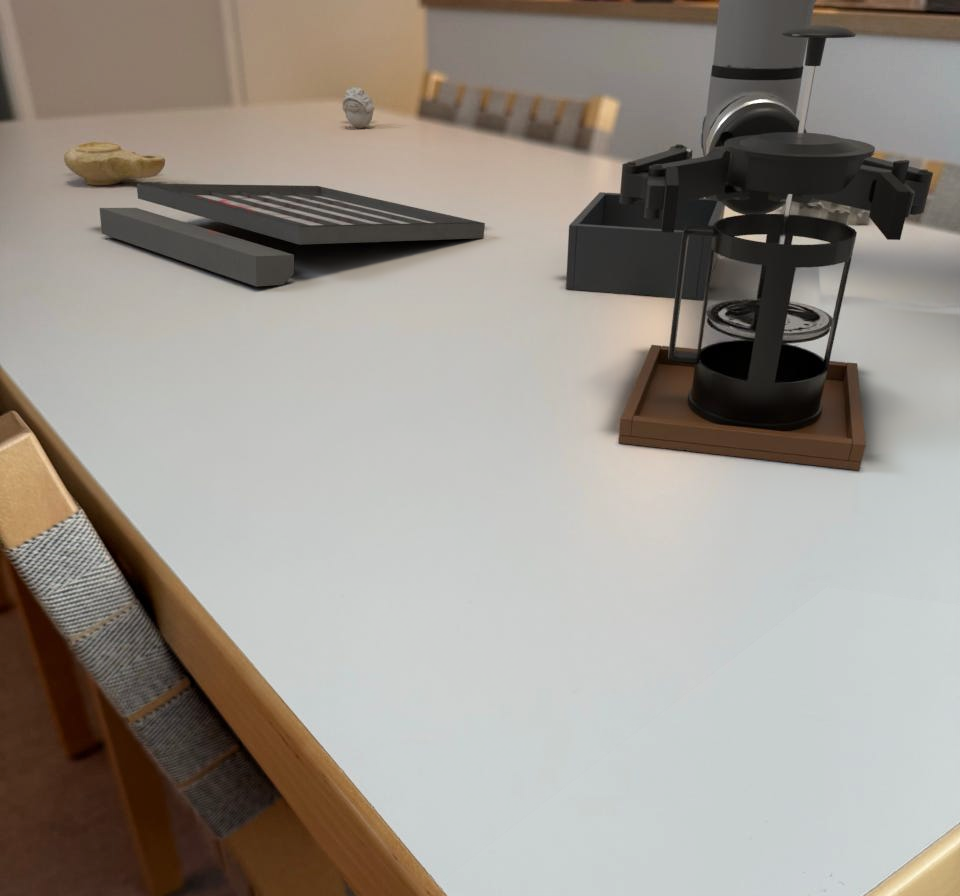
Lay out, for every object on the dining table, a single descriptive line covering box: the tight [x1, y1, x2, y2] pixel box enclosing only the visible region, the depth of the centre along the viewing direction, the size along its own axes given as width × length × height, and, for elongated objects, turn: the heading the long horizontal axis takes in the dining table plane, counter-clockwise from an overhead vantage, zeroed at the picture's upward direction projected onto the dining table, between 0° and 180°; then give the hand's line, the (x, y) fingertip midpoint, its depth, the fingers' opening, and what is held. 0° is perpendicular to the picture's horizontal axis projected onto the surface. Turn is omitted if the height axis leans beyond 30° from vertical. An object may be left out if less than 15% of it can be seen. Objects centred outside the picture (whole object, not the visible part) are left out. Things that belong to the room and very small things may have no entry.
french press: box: [668, 25, 876, 431], centre depth 62 cm, size 12×9×23 cm
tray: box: [617, 344, 867, 471], centre depth 69 cm, size 16×16×2 cm
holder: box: [565, 191, 726, 301], centre depth 98 cm, size 14×17×6 cm
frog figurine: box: [342, 86, 375, 129], centre depth 184 cm, size 6×7×7 cm
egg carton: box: [780, 200, 870, 226], centre depth 117 cm, size 11×8×4 cm
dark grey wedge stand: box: [99, 182, 486, 287], centre depth 112 cm, size 32×7×31 cm
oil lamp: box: [63, 141, 166, 186], centre depth 139 cm, size 11×14×5 cm
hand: (783, 212), depth 58 cm, fingers open, 13 cm apart
